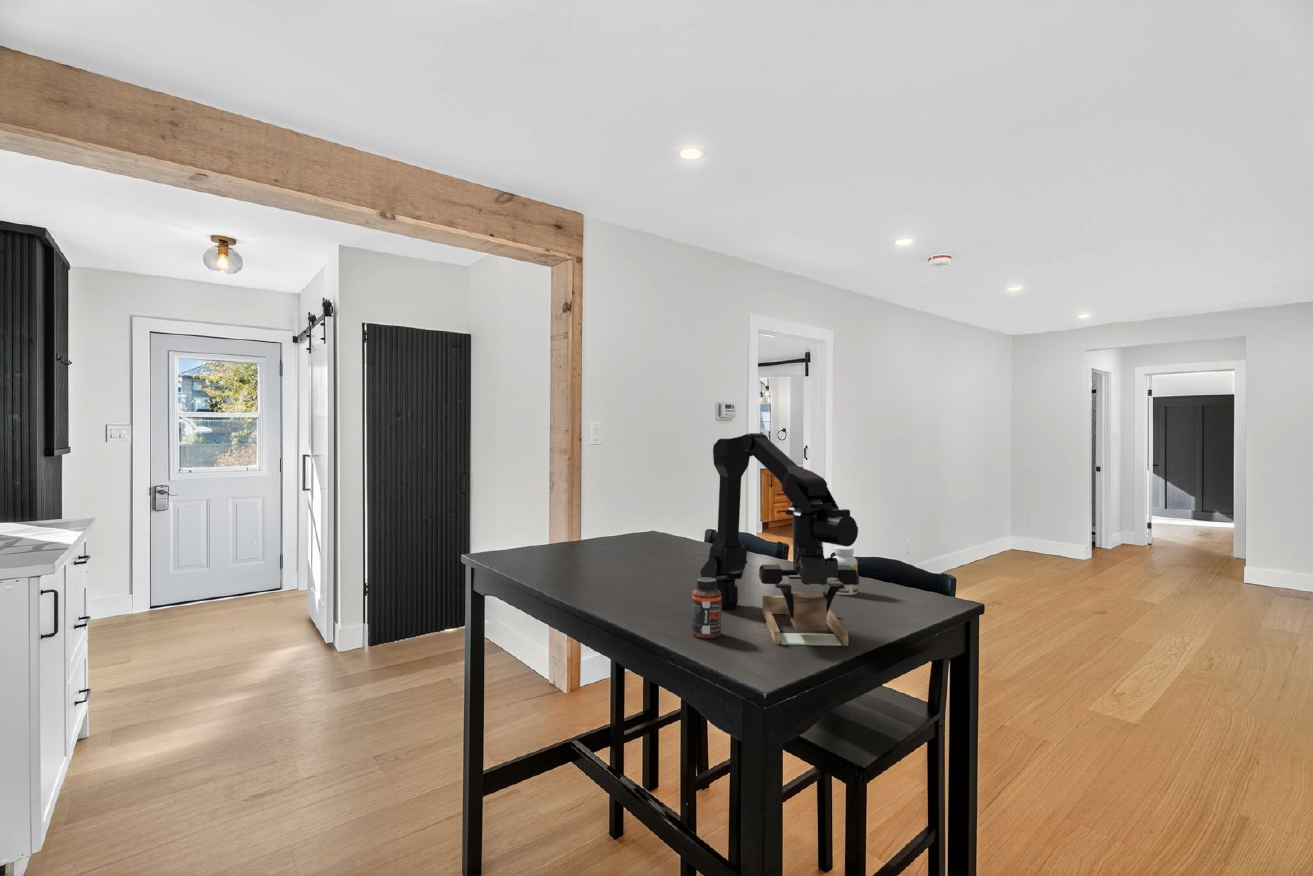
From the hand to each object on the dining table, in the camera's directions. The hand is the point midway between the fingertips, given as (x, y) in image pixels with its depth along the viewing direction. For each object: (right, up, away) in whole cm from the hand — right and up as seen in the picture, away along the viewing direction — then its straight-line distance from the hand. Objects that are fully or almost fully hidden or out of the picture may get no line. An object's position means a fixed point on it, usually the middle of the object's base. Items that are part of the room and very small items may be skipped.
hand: (807, 617), depth 123 cm
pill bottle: (+18, -4, +36) cm, 40 cm away
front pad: (0, -4, -1) cm, 4 cm away
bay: (0, -4, +7) cm, 8 cm away
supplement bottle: (-20, -4, +2) cm, 21 cm away
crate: (0, -2, 0) cm, 2 cm away
